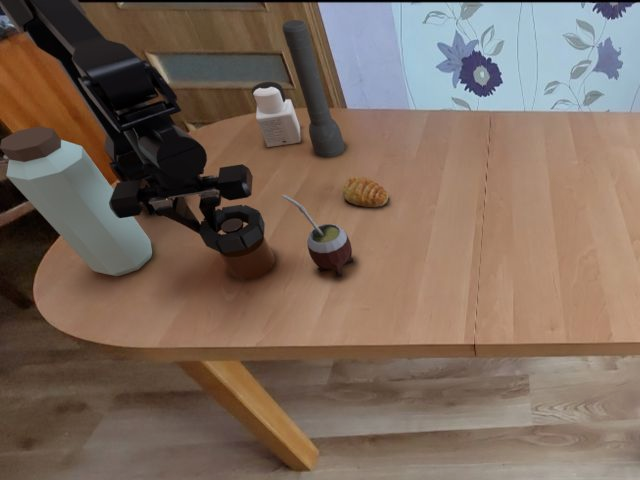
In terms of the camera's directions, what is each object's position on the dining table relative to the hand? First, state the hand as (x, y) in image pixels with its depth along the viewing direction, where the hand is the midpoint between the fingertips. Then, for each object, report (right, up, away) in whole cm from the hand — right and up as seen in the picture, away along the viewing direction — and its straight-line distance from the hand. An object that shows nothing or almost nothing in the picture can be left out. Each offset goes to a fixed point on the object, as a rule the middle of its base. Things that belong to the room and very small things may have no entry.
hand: (208, 231), depth 78 cm
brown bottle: (+3, -5, +8) cm, 10 cm away
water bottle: (-20, -5, +8) cm, 22 cm away
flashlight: (+8, +23, +34) cm, 42 cm away
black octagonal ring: (+3, 0, +2) cm, 4 cm away
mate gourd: (+18, -6, +8) cm, 21 cm away
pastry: (+20, +9, +22) cm, 31 cm away
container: (-5, +27, +37) cm, 46 cm away
